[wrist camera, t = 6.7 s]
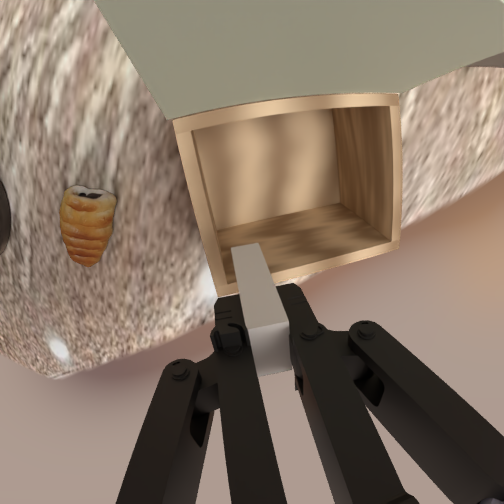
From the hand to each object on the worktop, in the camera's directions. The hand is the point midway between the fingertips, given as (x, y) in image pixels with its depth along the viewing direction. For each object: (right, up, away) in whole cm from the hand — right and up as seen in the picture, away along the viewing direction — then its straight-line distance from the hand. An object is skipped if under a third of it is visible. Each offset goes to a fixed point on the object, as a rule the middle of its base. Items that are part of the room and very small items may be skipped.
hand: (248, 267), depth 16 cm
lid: (+4, +10, -6) cm, 12 cm away
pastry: (-21, +4, +15) cm, 26 cm away
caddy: (+2, +11, +15) cm, 19 cm away
